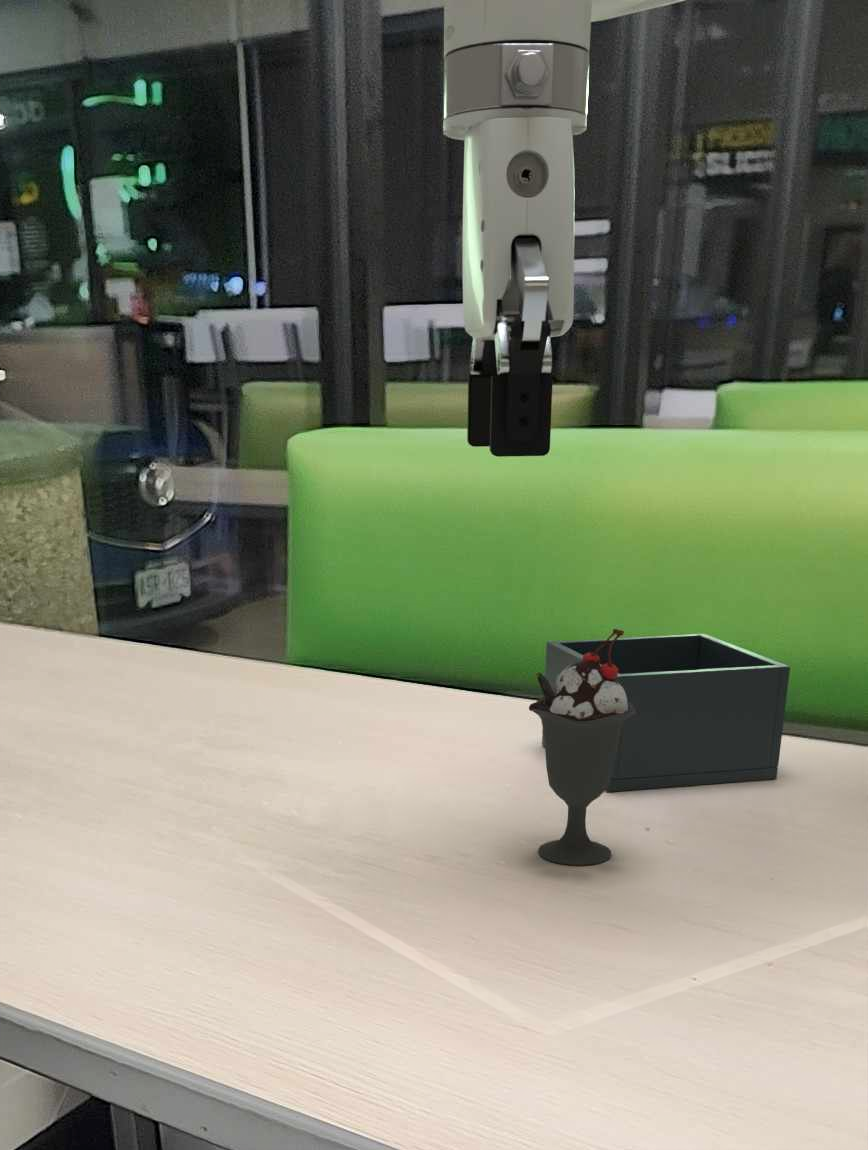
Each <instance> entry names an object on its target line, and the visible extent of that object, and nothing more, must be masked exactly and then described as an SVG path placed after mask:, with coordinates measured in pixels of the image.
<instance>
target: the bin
mask: <svg viewBox="0 0 868 1150" xmlns="http://www.w3.org/2000/svg"><path fill="white" fill-rule="evenodd" d="M615 638H616V637H611V638H610V639H609V640H608V642H607V643H606V644H605V645H604V646H603V647H602V648H601V649H600V650H599V651H598V653H597V655H598V656H599V658H600V666H602V665H604V664H606V663H608V651H609V647H610V645H611V643H612V642H613V640H614V639H615ZM607 639H608V638H593V639H573V640H556V641H555V640H554V641H546V646H545V647H546V649H545V666H544V669H545V670H544V677H545V678H546V679H547V680H548V681H549V683H550V685H551V687H552V689H553V691H554V693H555V683H556V679H557V676H558V675H559V674H560V673H561V672H562V671H563V670H564V669H565V668H566V667H568V666H569V665H570V664H575V663H578V662H581V661H582V659H583V656H584V654H587V653H594V652H595V651H596V650H597V649H598V648H599V647H600V646H601V645H602V644H603V643H604V642H605V641H606V640H607ZM610 658H611V662H612V664H614V665H615V666H616V667H617V668H618V674H617V677H616V678H614V679H615V680H616V681H617V682H618V683H619V684H620V685H621V686H622V687H623V688H624V691H625V694H626V697H627V699H628V702H629V703H630V704H632V706H633V707H634V708H635V715H633V716H631V717H629V718H627V719H626V720H625V722H624V723H623V726H622V730H621V733H620V736H619V740H618V744H617V750H616V755H615V761H614V766H613V771H612V775H611V778H610V782H609V785H608V788H607V789H606V790H605V791H604V792H607V793H613V792H614V793H615V792H625V791H627V792H628V791H639V790H650V789H663V788H676V787H688V786H702V785H714V784H727V783H728V784H729V783H738V782H739V783H740V782H752V781H753V782H755V781H766V780H776V779H777V778H778V772H779V771H778V770H779V762H780V754H781V746H782V738H783V731H784V730H783V728H784V723H785V714H786V707H787V706H786V705H787V698H788V690H789V689H788V688H789V680H790V673H791V672H790V671H791V665H790V666H789V665H788V664H784V663H782V662H779V661H778V660H774V659H771V658H769V657H766V656H763V655H761V654H758V653H756V652H753V651H750V650H747V649H745V648H742V647H740V646H737V645H735V644H733V643H729V642H728V641H727V642H726V641H724V640H721V639H719V638H716V637H713V636H711V635H708V634H706V633H691V634H689V633H688V634H672V635H671V634H669V635H651V636H633V637H632V636H631V637H619V638H618V639H617V640H616V641H615V642H614V643H613V645H612V648H611V656H610ZM543 697H545V696H544V695H543ZM541 733H542V735H541V746H542V747H544V748H545V739H544V733H543V728H542V731H541Z"/></svg>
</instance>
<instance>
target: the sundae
mask: <svg viewBox="0 0 868 1150" xmlns="http://www.w3.org/2000/svg"><path fill="white" fill-rule="evenodd" d="M624 633H625V631H624V630H621V629H617V628H613V630H612V634H610V636H608V638H606V639H607V640H606V641H605V642H604V643H603V644H602V645H601V646H600V647H599V648H598V649H597V650H596V651H595V652H594V653H587V654H584V656H583V659H582V661H581V662H578V663H575V664H570V665H569V666H568V667H566V668H565V669H564V670H563V671H562V672H561V673H560V674H559V675H558V676H557V679H556V683H555V693H554V691H553V689H552V687H551V685H550V683H549V681H548V680H547V679H546V678H545V675H543V673H541V672H537V673H536V678H537V681H538V683H539V686H540V689H541V692H542V693H543V697H541V698H539V699H537V700H536V701H535V702H532V703H531V704H530V705H529V707H528V710H529V711H530V712H533V713H535V714H536V715H537V716H538V717H539V719H540V721H541V726H542V729H543V733H544V739H545V747H544V752H545V768H546V773H547V780H548V785H549V787H550V788H551V790H552V791H553V792H554V793H555V795H556V796H557V797H558V798H560V799H561V800H562V801H563V802H564V803H565V804H566V806H567V820H566V821H567V822H566V827H565V830H564V832H563V833H564V834H562V836H561V837H560V838H559V839H555V840H551V841H547V842H545V843H543V844H541V845H539V847H538V849H537V853H538V854H539V856H540V857H541V858H543V859H545V860H547V861H549V862H551V863H555V864H560V865H568V866H589V865H596V864H600V863H603V862H606V861H608V859H610V858H611V857H612V850H611V849H610V848H609V847H608V846H606V845H604V844H602V843H599V842H597V841H593V840H591V839H590V837H589V835H588V833H587V826H586V818H587V808H588V807H589V806H590V804H591V803H592V802H594V801H595V800H597V799H599V798H600V797H601V796H602V795H603V794H604V792H606V791H605V790H606V789H607V788H608V785H609V782H610V778H611V775H612V771H613V766H614V761H615V755H616V750H617V744H618V740H619V736H620V733H621V730H622V726H623V723H624V722H625V720H626V719H627V718H629V717H631V716H633V715H635V708H634V707H633V706H632V704H630V703H629V702H628V699H627V697H626V694H625V691H624V688H623V687H622V686H621V685H620V684H619V683H618V682H617V681H616V680H615V679H614V678H616V677H617V674H618V668H617V667H616V666H615V665H614V664H612V662H611V658H610V656H611V648H612V645H613V643H614V642H615V641H616V640H617V639H618V638H621V637H622V636H624ZM615 635H616V637H614V636H615ZM613 637H614V638H615V639H614V640H613V642H612V643H611V645H610V647H609V651H608V663H606V664H604V665H602V666H600V658H599V656H598V655H597V653H598V651H599V650H600V649H601V648H602V647H603V646H604V645H605V644H606V643H607V642H608V640H609V639H610V638H613ZM544 696H545V697H544Z"/></svg>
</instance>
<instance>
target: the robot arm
mask: <svg viewBox="0 0 868 1150" xmlns="http://www.w3.org/2000/svg"><path fill="white" fill-rule="evenodd" d="M684 1H686V0H443V74H442V75H443V76H442V77H443V79H442V80H443V81H442V82H443V83H442V84H443V86H442V91H443V92H442V96H443V97H442V120H443V121H442V128H443V129H442V134H443V135H444V136H446V137H447V138H450V139H453V140H459V141H464V144H463V145H464V146H463V182H462V184H463V187H462V262H461V263H462V311H463V325H464V330H465V332H466V333H467V334H468V335H469V336H471V337H472V343H471V352H470V353H471V354H470V374H468V375H467V426H466V427H467V429H466V430H467V431H466V432H467V435H466V440H467V444H468V445H469V446H471V447H475V448H477V447H482V448H483V447H489V452H490V453H491V455H492V456H494V457H499V458H501V457H506V458H507V457H544V456H547V455H548V454H549V453H550V450H551V434H552V433H551V432H552V431H551V430H552V429H551V428H552V404H553V380H554V379H553V377H554V375H553V374H551V373H552V369H553V351H552V342H551V338H556V337H561V336H564V335H565V334H566V333H567V332H568V331H569V330H570V329H571V328H572V325H573V323H574V315H575V314H574V312H575V311H574V310H575V309H574V308H575V156H574V139H573V136H577V135H581V134H583V133H585V132H586V131H587V115H588V101H589V100H588V99H589V79H590V78H589V77H590V74H589V73H590V49H591V30H592V23H595V22H601V21H606V20H610V19H614V18H619V17H622V16H626V15H630V14H635V13H639V12H643V11H647V10H648V11H649V10H651V9H652V10H653V9H656V8H657V9H658V8H660V7H664V6H665V7H666V6H668V5H672V4H676V3H681V2H684Z"/></svg>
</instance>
